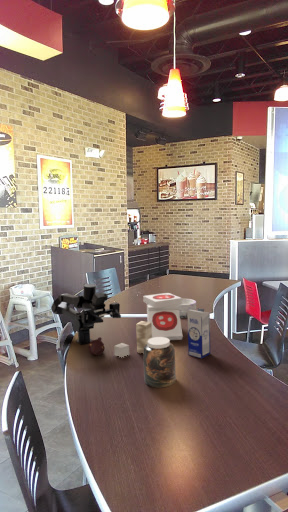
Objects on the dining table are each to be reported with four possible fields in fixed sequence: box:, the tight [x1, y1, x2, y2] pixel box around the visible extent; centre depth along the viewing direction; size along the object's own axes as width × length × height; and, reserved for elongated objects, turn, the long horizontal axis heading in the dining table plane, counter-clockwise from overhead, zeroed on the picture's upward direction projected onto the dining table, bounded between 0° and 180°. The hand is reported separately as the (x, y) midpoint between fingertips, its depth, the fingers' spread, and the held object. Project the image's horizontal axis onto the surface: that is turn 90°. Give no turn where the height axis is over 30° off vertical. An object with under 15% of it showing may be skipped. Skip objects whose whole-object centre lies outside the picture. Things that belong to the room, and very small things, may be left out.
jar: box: [142, 337, 177, 389], centre depth 135 cm, size 12×12×15 cm
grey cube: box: [114, 342, 130, 359], centre depth 161 cm, size 4×4×4 cm
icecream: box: [87, 337, 106, 356], centre depth 163 cm, size 7×7×15 cm
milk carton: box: [186, 308, 211, 359], centre depth 158 cm, size 7×7×20 cm
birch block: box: [135, 320, 152, 354], centre depth 164 cm, size 5×5×13 cm
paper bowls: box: [178, 298, 197, 317], centre depth 223 cm, size 15×15×8 cm
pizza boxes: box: [142, 292, 184, 341], centre depth 186 cm, size 19×30×18 cm, turn 3°
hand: (111, 319), depth 160 cm, fingers open, 9 cm apart
